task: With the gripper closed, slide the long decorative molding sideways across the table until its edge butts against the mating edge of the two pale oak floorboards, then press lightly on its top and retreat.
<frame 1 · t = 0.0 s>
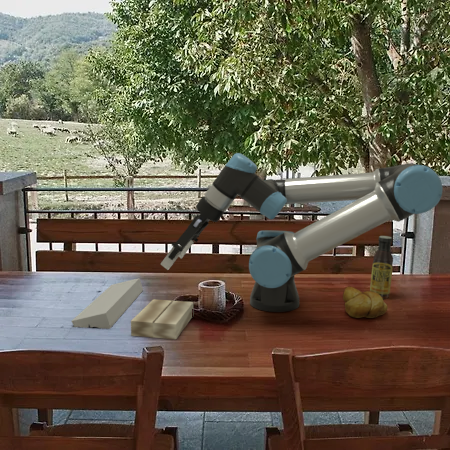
hand: (171, 261, 147), 15 cm above the table, tool tilted 35°, fingers open, 13 cm apart
bread roll: (365, 316, 149), on the table
decorative molding: (111, 309, 154), on the table
floorboards: (163, 325, 139), on the table
sauce bottle: (380, 297, 166), on the table
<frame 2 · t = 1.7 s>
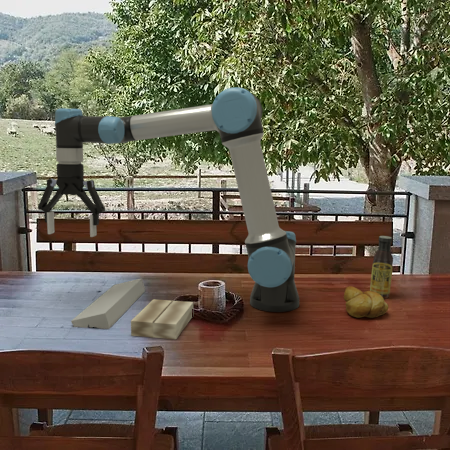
hand: (72, 234, 152), 22 cm above the table, tool pointing down, fingers open, 13 cm apart
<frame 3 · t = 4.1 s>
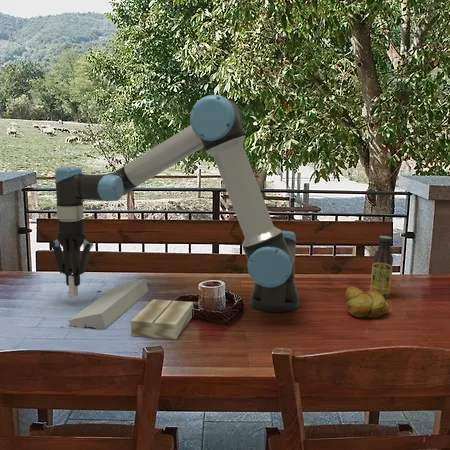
hand: (73, 295, 155), 3 cm above the table, tool pointing down, fingers closed
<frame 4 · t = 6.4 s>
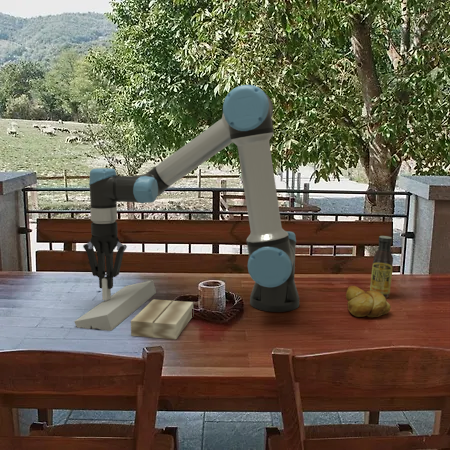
hand: (106, 298, 153), 2 cm above the table, tool pointing down, fingers closed
decorative molding: (119, 311, 153), on the table, touching gripper
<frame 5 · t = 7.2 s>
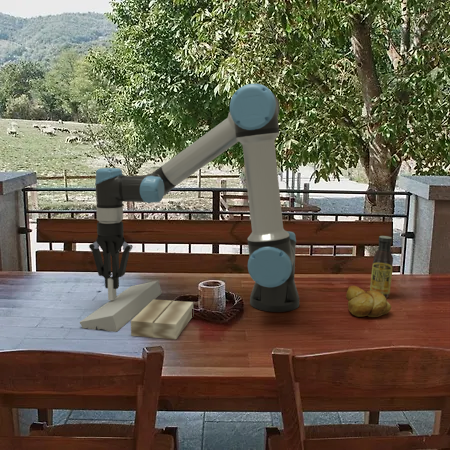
hand: (112, 298, 153), 3 cm above the table, tool pointing down, fingers closed
decorative molding: (124, 311, 152), on the table
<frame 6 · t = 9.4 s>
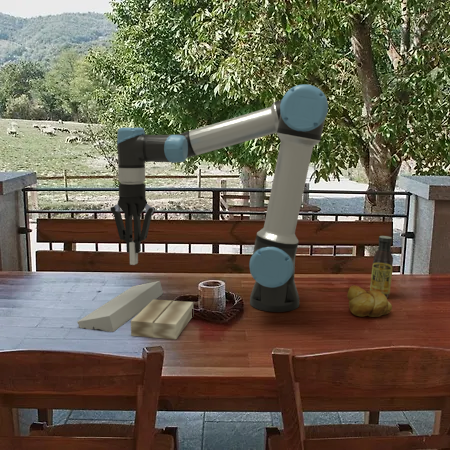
hand: (134, 263, 149), 14 cm above the table, tool pointing down, fingers closed
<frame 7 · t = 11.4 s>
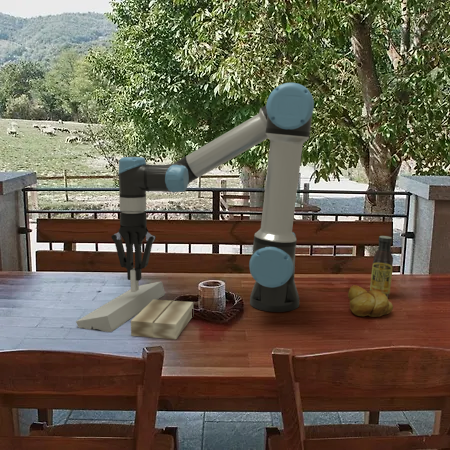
hand: (134, 290, 150), 6 cm above the table, tool pointing down, fingers closed
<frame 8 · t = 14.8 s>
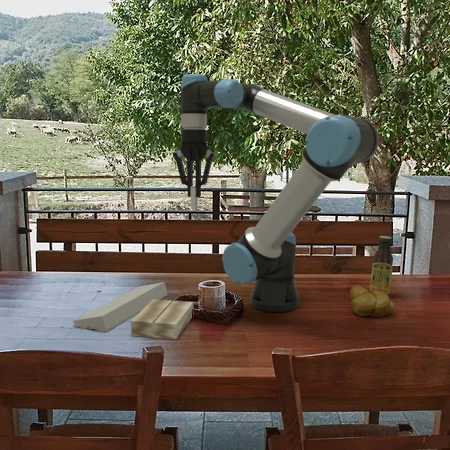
hand: (194, 207, 155), 29 cm above the table, tool pointing down, fingers closed
at the end: decorative molding inside the target area (3.4 cm from its centre), on the table; decorative molding moved 5.1 cm from its start; decorative molding on the table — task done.
